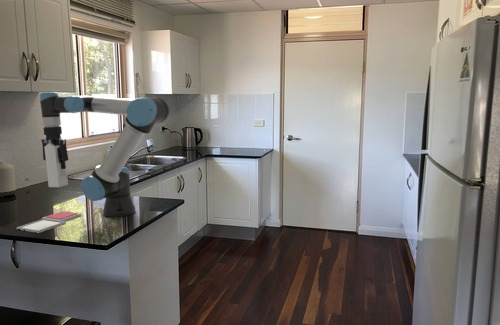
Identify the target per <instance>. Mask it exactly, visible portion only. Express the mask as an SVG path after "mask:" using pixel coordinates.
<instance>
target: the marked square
mask: <svg viewBox="0 0 500 325" xmlns="http://www.w3.org/2000/svg"><path fill="white" fill-rule="evenodd" d="M66 222H67V221H65V222H63V221H54V220H47V219H42V218H41V219H39V220H36V221H32V222H30V223H26V224H23V225H19V226H17V227H16V230H18V229H20V231H24V230H25V232H30V233H35V232H36V234H39V233H42V232H45V231H48V230H51V229H55V228H57V227H60V226H63V225H65V224H66ZM59 225H60V226H59Z"/></svg>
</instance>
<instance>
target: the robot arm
mask: <svg viewBox="0 0 500 325" xmlns="http://www.w3.org/2000/svg"><path fill="white" fill-rule="evenodd" d="M39 103H40V109H41V121H42V126H43V135H44V136H45V138H42V139H41V146H42V160H43V161H46V157H45V148H44V147H45V146H46V145H47V144H49V140H51V142H52V144H53V145H55V146H56V145H60V147H59V148H57V152H58V158H59V163H58V164H59V173H60V177H61V176H66V172H65V168H67V166H66V167H65V161H66V162H67V161H69V154H68V149H67V148H68V147H67V139H66V138H62V137H61V135H62V133H63V131H62V130H63V129H62V126H61V125H62V121H61V114H76V113H99V114H107V115H108V114H110V115H112V114H113V115H122V116H126V117H125V119H124V121H125V125H124V127H123V129H122V130H121V132H120V133H119V135H118V136H117V138H116V140H115V141H114V143H113V145H112V146H111V148H110V150H109V151H108V153H107V155H106V156H105V158H104V160H103V161H102V163H101V164H98V165H96V166H95V167H94V169H93V171H92V172H91V174H90V175H87V176H86V177H84V178H82V180H81V184H80V188H81V192H82V193H83V195H84V197H85V198H87V199H88V200H90V201H92V202H97V201H101V200H104V199H105V201H104V205H103V208H102V215H103V216H104V217H109V218H116V217H117V218H119V217H124V216H125V217H126V216H129V215H132V214H134V213H135V212H136V206H135V205H134V202H133V199H132V197H131V184H130V182H131V181H130V172H129V168H128V167H127V166H125V165H126V164H127V162H128V160H129V159H130V157H131V155H132V154H133V152H134V151H135V150H136V148H137V146H138V145H139V144H140V142H141V140H142V138H143V137H144V135H148V134H150V132H151V131H152V129H153V128H154V126H155V125H157V124H162V123H164V122H165V121H166V120H167V119H168V117H169V116H170V111H171V110H170V105H169V103H168V102H167V101H166V100H165V99H164V98H161V97H158V96H157V97H156V96H155V97H154V96H152V97H146V96H141V97H136V98H135V99H133V98H122V97H121V98H118V97H109V96H108V97H106V96H105V97H104V96H95V95H61V96H59V94H58V92H57V91H47V92H46V91H45V92H44V91H43V92H42V91H41V92H40V94H39Z"/></svg>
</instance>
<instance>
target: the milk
mask: <svg viewBox="0 0 500 325" xmlns="http://www.w3.org/2000/svg"><path fill="white" fill-rule="evenodd" d="M59 147H60V145H56V146H55V145H53V144H52V142H51V140H49V144H47V145H46V146H45V147H44V148H45V157H46V160H45V164H46V165H45V166H46V172H47V173H46V175H47V182H48V184H47V185H48V188H61V187H64V186H68V185H69V182H68V181H69V180H68V169H67V161H65V167H66V168H65V172H66V176H61V177H60V173H59V164H58V163H59V158H58V152H57V148H59Z"/></svg>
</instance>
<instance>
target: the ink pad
mask: <svg viewBox="0 0 500 325" xmlns="http://www.w3.org/2000/svg"><path fill="white" fill-rule="evenodd" d="M81 216H82V214H81V213H80V212H79V213H78V212H74V211H73V212H70V211H66V210H65V211H63V210H61V211H59V212H56V213H55V212H54V213H53V214H49V215H45V216H44V217H41V220H42V219H47V220H54V221H63V222H68V221H71V220H74V219H76V218H79V217H81Z"/></svg>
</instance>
